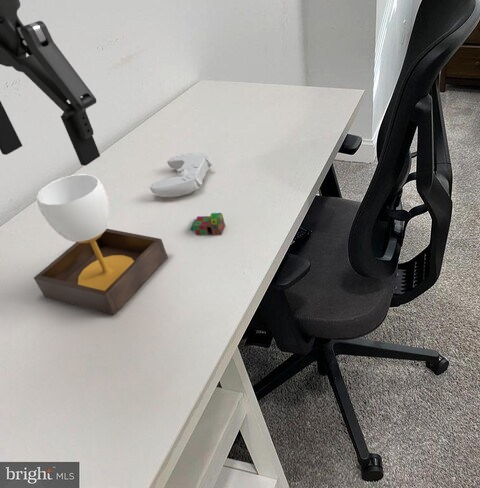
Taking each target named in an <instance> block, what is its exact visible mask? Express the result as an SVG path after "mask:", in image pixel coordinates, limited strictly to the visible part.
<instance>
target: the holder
mask: <svg viewBox="0 0 480 488" xmlns="http://www.w3.org/2000/svg"><path fill="white" fill-rule="evenodd" d="M95 241H96V243H97V245H98V247H99V249H100V252H101V254H102V256H103V258H104V257H108V256H112V255H124V256H127V257H130V258H132V259H133V260H134V262H133V263H132V264H131V265H130V266H129V267H128V268H127V269H126V270H125V271H124V272H123V273H122V274H121V275H120V276H119V277H118V278H117V279H116V280H115V281H114V282H113V283H112V284H111V285H110V286H109V287H108V288H107V289H106V290H105V291H103V290H99V289H95V288H91V287H87V286H82V285H78V277H79V275H80V274H81V272H82V271H83V270H84V269H85V268H86V267H87V266H89V265H90V264H91V263H93V262H95V261H97V260H98V259H97V257H96V255H95V252H94V250H93V248H92V246H91V244H90V242H88V243H78V242H74V243H73V244H72V245H71V246H69V247H68V248H67V249H66V250H65V251H64V252H62V253H61V254H60V255H59V256H58V257H57V258H56V259H54V260H53V261H52V262H51V263H49V264H48V265H47V266H46V267H45V268H44V269H42V270H41V271H40V272H39V273H37V274H36V275H35V276H34V277H33V280H34V281H35V283H36V286H38V289H39V290H40V291H41V294H42V295H43V296H44V298H48V299H51V300H54V301H55V300H56V301H59V302H63V303H68V304H71V305H75V306H79V307H81V308H87V309H91V310H94V311H98V312H102V313H106V314H109V315H114V316H115V315H116V314H117V313H118V312H119V311H120V310H121V309H122V308H123V307H124V305H125V304H127V302H128V301H129V300H130V299H131V298H132V297H133V296H134V295H135V294H136V293H137V292H138V291H139V290H140V289H141V288H142V287H143V285H144V284H145V283H146V282H147V281H148V280H149V279H150V278H151V277H152V275H154V273H155V272H156V271H158V269H159V268H160V267H161V266H162V265H163V264H164V263H165V262H166V260H167V259H168V258H169V256H168V254H167V250H166V248H165V246H164V243H163V240H162V238H160V237H153V236H148V235H144V234H143V235H142V234H138V233H132V232H127V231H122V230H117V229H112V228H110V229H109V228H107V229H106V230H105V231H104V233H103V234H102V236H101V237H99V238H98V239H97V240H95Z"/></svg>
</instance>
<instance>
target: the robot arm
mask: <svg viewBox="0 0 480 488" xmlns="http://www.w3.org/2000/svg"><path fill="white" fill-rule="evenodd" d="M20 8H21V1H20V0H0V65H1V66H4V67H7V68H11V67H12V68H13V69H14V70H15V71H16V72H19V73H23V74H24V75H25V76H26V77H27V78H28V79H29V80H30V81H31V82H32V83H33V84H35V86H37V88H39V89H40V90H41V91H42V92H43V93H44V95H45V96H47V97H48V98H49V99H50V100H51V101H52V102H53V103H54V104H55V105H56V106H57V107H58V108H59V109H60V110H61V111H62V112H63V113H62V114H61V115H60V119H61V121H62V124H63V125H64V128H65V130H66V133H67V136H68V139H69V140H70V143H71V145H72V147H73V150H74V151H75V154H76V156H77V158H78V161H79V164H80V166H85V167H86V166H88V165H90V164H91V163H92V162H94V161H95V160H96V159H98V158H99V157H101V154H100V151H99V149H98V146H97V144H96V141H95V138H94V129H93V127H92V124H91V121H90V119H89V116H88V113H87V109H88V108H90V107H91V106H93V105H96V104H97V98H96V96H95V95H94V94H93V92H92V91H91V90H90V89H89V87H88V86H87V84H86V83H85V82H84V80H83V79H82V78H81V76H80V75H79V74H78V73H77V71H76V70H75V68H74V67H73V66H72V64H71V63H70V62H69V60H68V59H67V58H66V56H65V55H64V54H63V52H62V50H61V49H60V48H59V47H58V46H57V44H56V43H55V42H54V40H53V38H52V35H51V33H50V31H49V29H48V27H47V25H46V23H45V22H43V20H38V21H35V22H32V23H29V24H25V25H24V23H22V21H21V20H20V18H19V16H18V10H19V9H20ZM27 55H28V56H27ZM21 147H23V143H22V142H21V139H20V138H19V135H18V134H17V132H16V130H15V127H14V125H13V123H12V121H11V120H10V118H9V116H8V113H7V111H6V109H5V107H4V105H3V103H2V101H1V100H0V153H1V154H2V155H9V154H11V153H13V152H15V151H16V150H18V149H20V148H21Z"/></svg>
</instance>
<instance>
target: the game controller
mask: <svg viewBox="0 0 480 488" xmlns="http://www.w3.org/2000/svg"><path fill="white" fill-rule="evenodd" d="M166 163H167V165H168V166H169V167H170V168H172V169H173V170H176V171H177V172H176V173H177V174H176V175H174V176H172V177H170V178H165V179H161V180H158V181H156V182H153V183H151V184H150V186H149V189H150V191H151V193H152V194H153V195H156V196H157V197H161V198H177V197H182V196H186V195H189V194H192V193H193V192H195V191H197V190H199V189H200V188H201V186H202V185H203V180H204V178H205V176H206V174H207V172H208V170H210V169H211V167H212V166H213V165H214V161H213V160H212V159H211V158H210V157H209V156H208V154H206V153H201V152H192V153H183V154H179V155H174V156H172V157H170V158H169V159H168V160H167V161H166Z"/></svg>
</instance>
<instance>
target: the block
mask: <svg viewBox="0 0 480 488" xmlns="http://www.w3.org/2000/svg"><path fill="white" fill-rule="evenodd" d="M223 215H224V214H223V212H211V213H210V215H209V216H208V215H207V216H206V215H205V216H204V215H199V216H196V218H195V219H194V220H193V222H192V224H191V226H190V231H194V234H195V235H196V236H208V235H210V233H209V229H208V228H210V230H211V234H212V235H213V236H215V235H216V236H217V235H218V236H219V235H220V236H222V234H223V232H224V229H225V226H226V223H225V219H224V216H223Z"/></svg>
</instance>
